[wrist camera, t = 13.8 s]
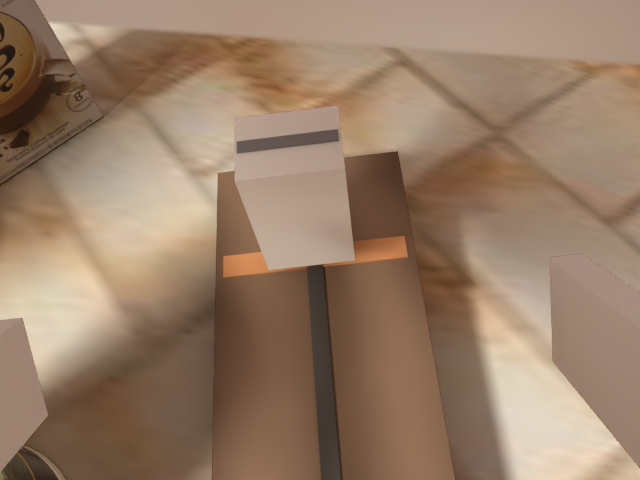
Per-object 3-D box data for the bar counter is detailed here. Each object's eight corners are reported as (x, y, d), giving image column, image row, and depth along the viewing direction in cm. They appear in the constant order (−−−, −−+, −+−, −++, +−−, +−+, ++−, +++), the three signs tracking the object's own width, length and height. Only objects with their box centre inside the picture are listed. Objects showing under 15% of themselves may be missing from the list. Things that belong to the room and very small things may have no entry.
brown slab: (226, 844, 22) (203, 879, 19) (230, 202, 36) (217, 171, 33) (505, 827, 21) (522, 860, 18) (397, 183, 35) (397, 150, 33)
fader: (274, 284, 29) (234, 179, 22) (272, 231, 30) (234, 116, 23) (356, 275, 29) (344, 166, 21) (350, 222, 30) (337, 103, 23)
